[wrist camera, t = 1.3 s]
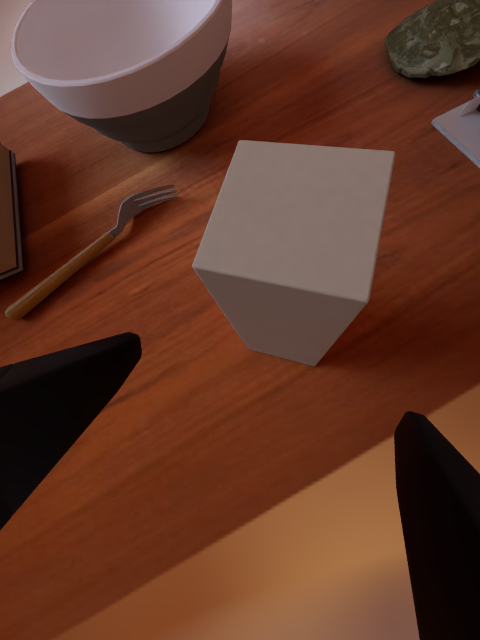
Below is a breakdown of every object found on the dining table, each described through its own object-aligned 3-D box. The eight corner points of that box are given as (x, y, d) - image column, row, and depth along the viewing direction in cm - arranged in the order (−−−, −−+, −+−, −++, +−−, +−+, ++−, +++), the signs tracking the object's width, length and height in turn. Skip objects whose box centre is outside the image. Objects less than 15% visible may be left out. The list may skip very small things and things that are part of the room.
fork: (4, 324, 24) (173, 182, 25) (-8, 308, 24) (161, 169, 25) (27, 326, 26) (180, 197, 27) (16, 312, 26) (168, 185, 27)
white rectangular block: (315, 367, 20) (369, 302, 7) (246, 348, 21) (190, 266, 8) (329, 301, 21) (396, 150, 8) (264, 288, 22) (238, 138, 10)
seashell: (370, 24, 27) (497, -128, 20) (397, 59, 32) (508, -54, 25) (408, 106, 26) (560, -25, 18) (430, 129, 31) (559, 33, 23)
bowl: (279, 127, 28) (277, -6, 19) (115, 216, 28) (33, 125, 19) (203, 40, 34) (174, -90, 25) (70, 111, 34) (-6, 7, 25)
